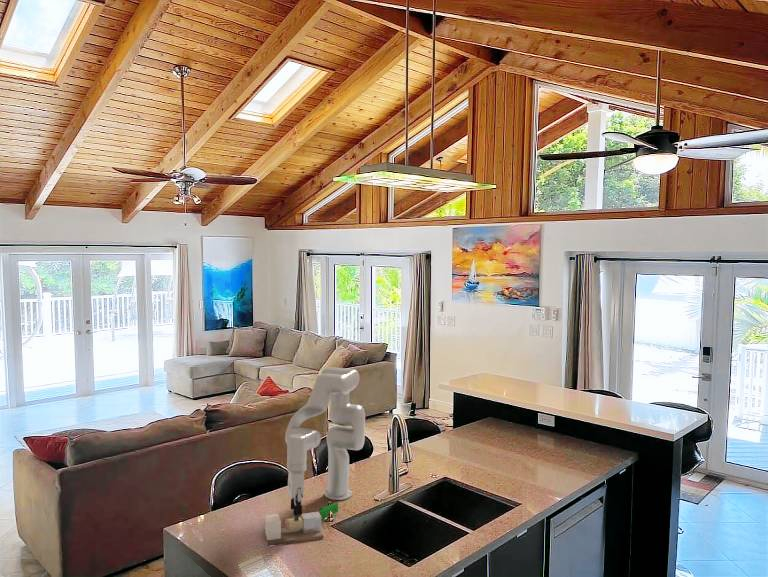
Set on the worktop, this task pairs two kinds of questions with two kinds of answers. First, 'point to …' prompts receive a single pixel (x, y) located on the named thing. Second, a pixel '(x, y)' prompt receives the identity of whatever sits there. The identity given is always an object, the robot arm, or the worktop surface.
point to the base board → (294, 536)
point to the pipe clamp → (325, 510)
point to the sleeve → (311, 522)
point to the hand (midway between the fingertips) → (296, 511)
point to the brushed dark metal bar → (294, 522)
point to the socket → (272, 527)
